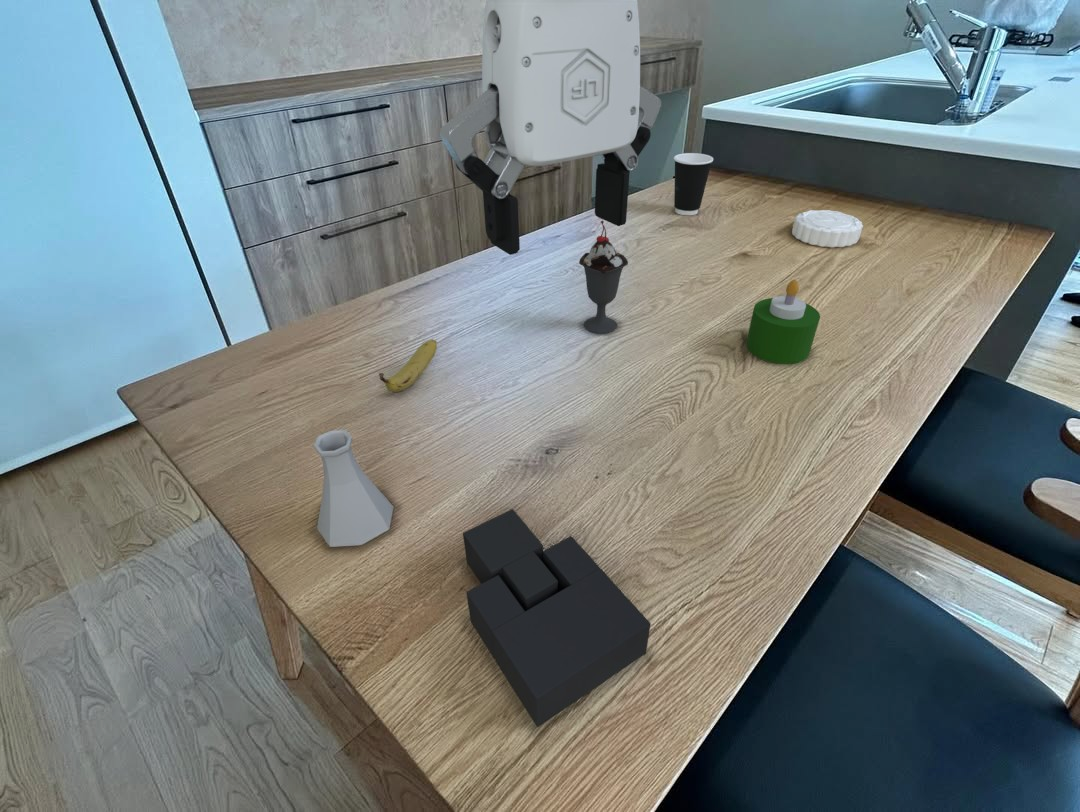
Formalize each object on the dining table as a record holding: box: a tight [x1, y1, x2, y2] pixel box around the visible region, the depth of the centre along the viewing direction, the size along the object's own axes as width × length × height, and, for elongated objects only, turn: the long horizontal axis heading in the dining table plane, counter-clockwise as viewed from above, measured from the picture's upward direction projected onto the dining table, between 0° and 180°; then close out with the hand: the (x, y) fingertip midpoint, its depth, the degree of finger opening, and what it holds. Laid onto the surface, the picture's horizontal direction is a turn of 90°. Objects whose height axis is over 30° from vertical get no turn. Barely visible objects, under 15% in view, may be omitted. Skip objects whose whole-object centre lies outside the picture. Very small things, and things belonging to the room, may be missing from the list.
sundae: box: [578, 220, 629, 334], centre depth 82 cm, size 7×7×15 cm
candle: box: [745, 279, 821, 365], centre depth 78 cm, size 8×8×10 cm
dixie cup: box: [673, 152, 714, 216], centre depth 123 cm, size 8×8×11 cm
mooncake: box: [791, 209, 864, 249], centre depth 112 cm, size 12×12×4 cm
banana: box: [378, 339, 438, 393], centre depth 74 cm, size 10×2×4 cm, turn 148°
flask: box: [313, 429, 395, 548], centre depth 54 cm, size 7×7×10 cm
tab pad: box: [462, 508, 558, 611], centre depth 49 cm, size 9×5×4 cm, turn 33°
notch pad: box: [465, 535, 652, 728], centre depth 45 cm, size 10×10×4 cm
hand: (559, 233), depth 44 cm, fingers open, 9 cm apart
